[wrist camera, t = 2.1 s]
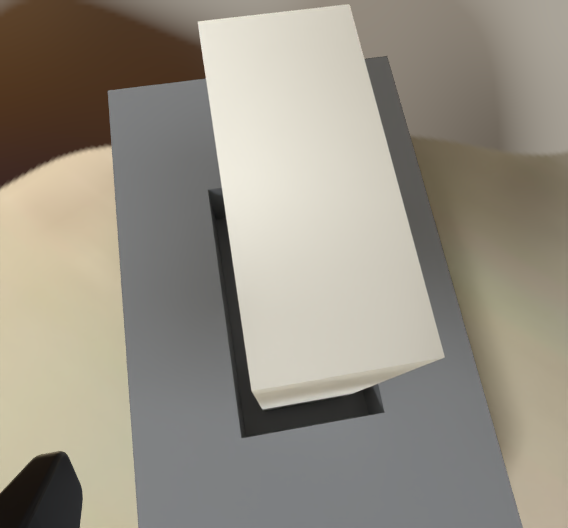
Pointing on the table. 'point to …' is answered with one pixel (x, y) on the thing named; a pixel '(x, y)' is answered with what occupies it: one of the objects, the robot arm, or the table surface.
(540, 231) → the table surface
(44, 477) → the robot arm
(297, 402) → the white flat block
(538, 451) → the table surface
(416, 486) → the holder box
